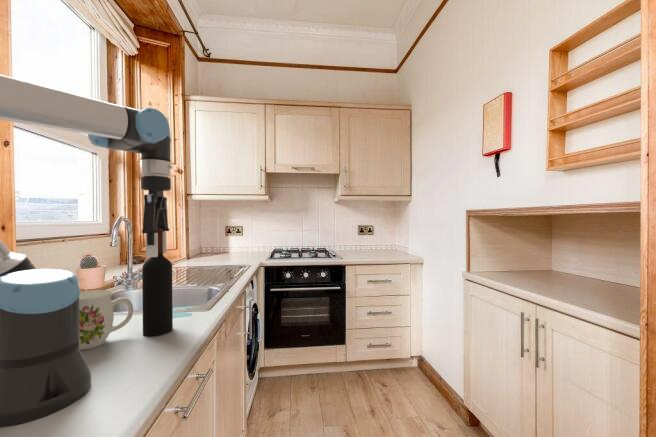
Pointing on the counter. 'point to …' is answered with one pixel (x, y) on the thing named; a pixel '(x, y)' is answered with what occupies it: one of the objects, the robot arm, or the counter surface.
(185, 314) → the mat
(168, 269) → the wine bottle
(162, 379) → the counter surface
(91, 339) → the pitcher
